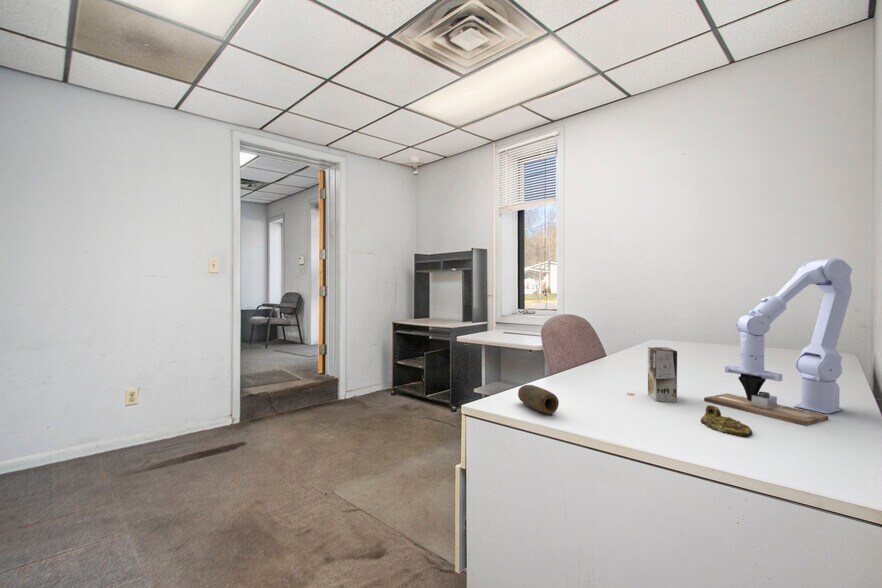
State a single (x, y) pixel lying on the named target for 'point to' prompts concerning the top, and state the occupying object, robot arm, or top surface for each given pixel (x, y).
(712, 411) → the seal
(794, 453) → the top surface
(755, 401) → the knob
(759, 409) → the counting board
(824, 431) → the top surface
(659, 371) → the coffee box
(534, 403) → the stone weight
